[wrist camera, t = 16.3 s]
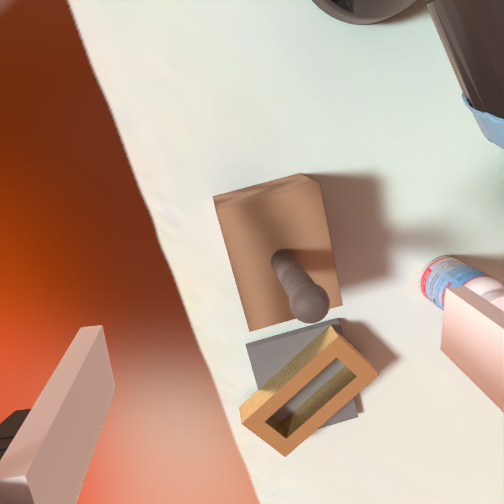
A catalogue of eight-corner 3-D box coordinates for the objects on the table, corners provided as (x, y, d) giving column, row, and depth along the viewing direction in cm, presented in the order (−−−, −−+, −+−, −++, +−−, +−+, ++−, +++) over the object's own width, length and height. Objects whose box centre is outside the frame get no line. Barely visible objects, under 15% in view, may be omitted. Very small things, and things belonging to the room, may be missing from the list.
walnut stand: (299, 173, 46) (368, 206, 27) (320, 277, 50) (393, 367, 31) (212, 196, 45) (223, 245, 27) (241, 299, 49) (268, 404, 31)
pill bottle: (411, 267, 51) (468, 304, 40) (456, 247, 51) (524, 279, 40) (423, 306, 53) (480, 352, 42) (466, 288, 53) (534, 329, 42)
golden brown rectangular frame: (369, 361, 53) (379, 374, 50) (280, 439, 55) (285, 456, 52) (330, 324, 51) (338, 336, 48) (239, 407, 53) (241, 423, 50)
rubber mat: (336, 318, 52) (339, 321, 51) (355, 412, 56) (358, 416, 56) (245, 344, 51) (246, 348, 50) (272, 436, 56) (273, 442, 55)
